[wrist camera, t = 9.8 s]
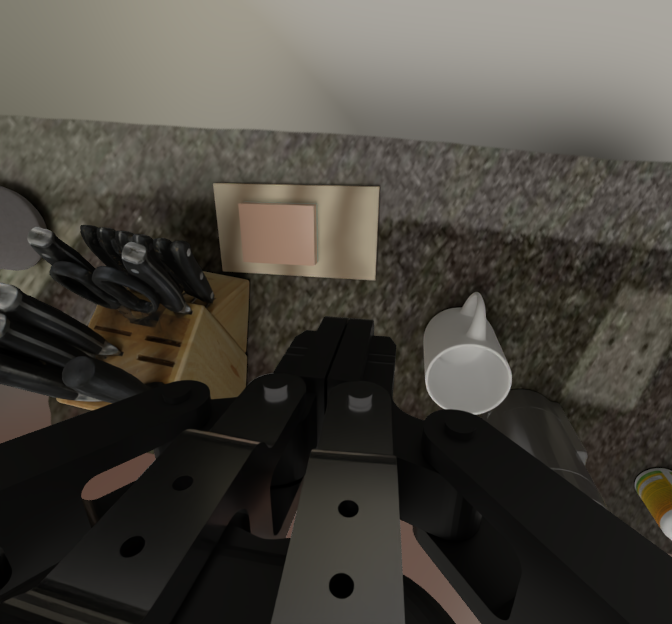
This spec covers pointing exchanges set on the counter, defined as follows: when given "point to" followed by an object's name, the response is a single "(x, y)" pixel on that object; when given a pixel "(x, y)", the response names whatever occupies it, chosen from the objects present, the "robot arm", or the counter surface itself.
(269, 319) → the counter surface
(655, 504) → the supplement bottle
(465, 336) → the mug
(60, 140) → the counter surface
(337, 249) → the board
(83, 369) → the knife block
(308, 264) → the pink rectangular block
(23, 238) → the coffee pot
